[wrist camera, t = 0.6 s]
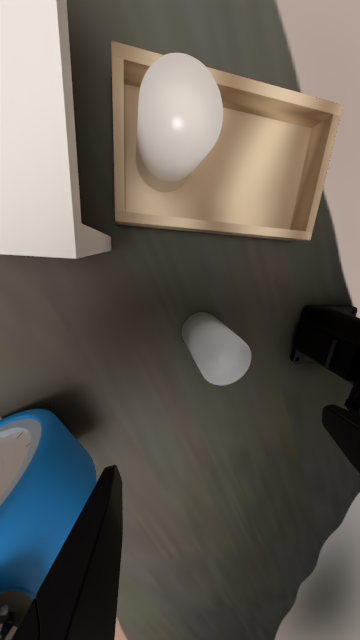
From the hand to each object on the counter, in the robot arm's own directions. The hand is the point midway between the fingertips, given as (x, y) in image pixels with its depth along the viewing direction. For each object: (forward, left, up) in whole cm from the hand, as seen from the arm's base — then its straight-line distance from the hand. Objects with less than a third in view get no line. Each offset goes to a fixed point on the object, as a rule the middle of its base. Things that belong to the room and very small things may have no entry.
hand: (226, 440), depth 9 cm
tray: (-3, -13, -12) cm, 18 cm away
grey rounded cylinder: (-3, 0, -12) cm, 12 cm away
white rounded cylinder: (+2, -13, -11) cm, 17 cm away
